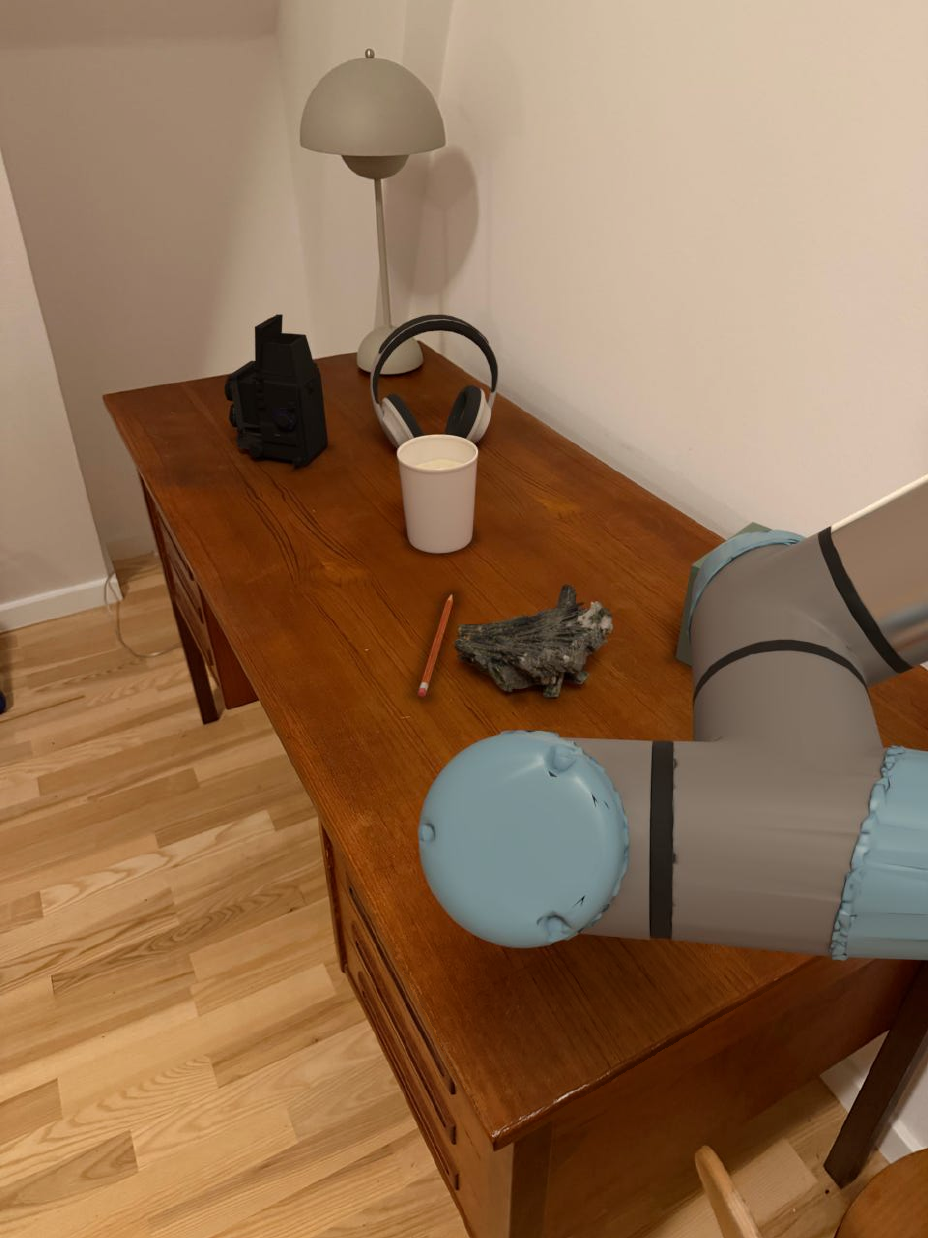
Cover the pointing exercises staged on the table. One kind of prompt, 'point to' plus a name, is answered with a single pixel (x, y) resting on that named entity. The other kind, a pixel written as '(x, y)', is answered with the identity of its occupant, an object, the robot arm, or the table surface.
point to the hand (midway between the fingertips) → (598, 804)
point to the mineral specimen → (537, 645)
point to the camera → (278, 397)
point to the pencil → (435, 648)
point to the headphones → (469, 405)
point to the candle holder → (438, 491)
